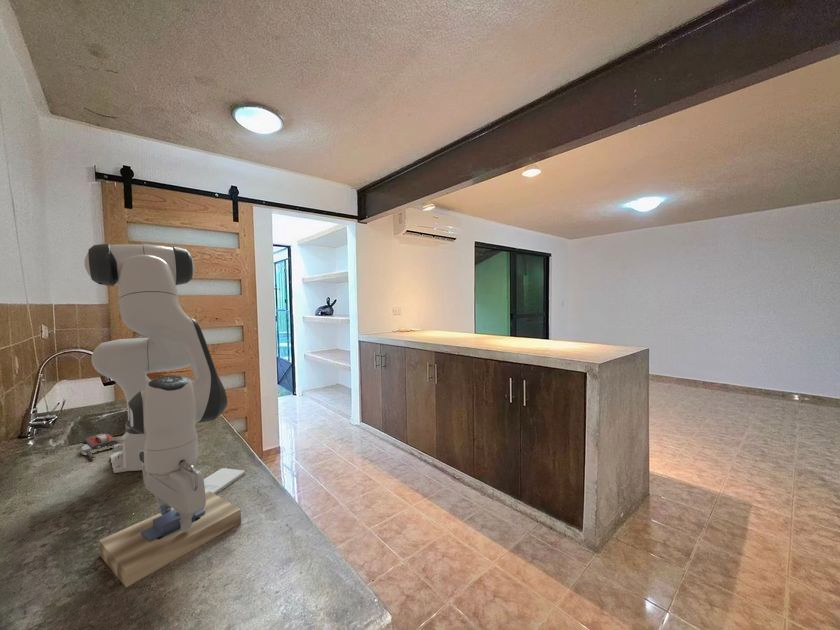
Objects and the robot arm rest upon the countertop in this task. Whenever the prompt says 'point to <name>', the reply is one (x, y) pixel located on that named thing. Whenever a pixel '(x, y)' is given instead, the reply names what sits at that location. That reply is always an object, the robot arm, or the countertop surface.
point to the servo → (166, 525)
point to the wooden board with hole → (164, 541)
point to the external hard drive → (221, 479)
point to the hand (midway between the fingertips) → (174, 520)
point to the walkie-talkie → (97, 443)
